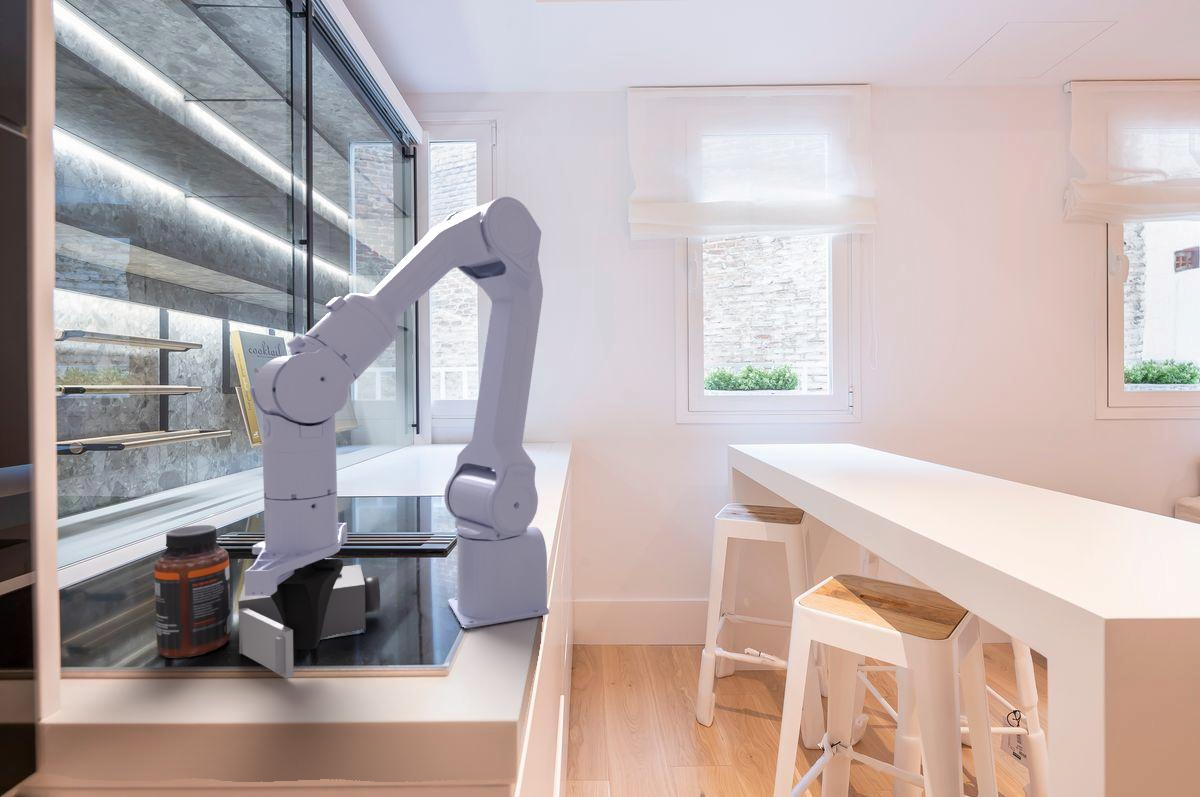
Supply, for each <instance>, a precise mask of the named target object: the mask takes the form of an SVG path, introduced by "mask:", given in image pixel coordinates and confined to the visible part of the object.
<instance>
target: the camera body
mask: <svg viewBox="0 0 1200 797" xmlns="http://www.w3.org/2000/svg"><path fill="white" fill-rule="evenodd" d="M380 587H381V586H380V581H379V576H369V577H364V575H363V570H362V565H361V564H354V565H345V566H344V565H343V568H342V571H341V572H340V574H339V576H338V578H337V580H336V582H335V585H334V587H333V590H332V592H331V595H330V598H329V602H328V605H327V610H326V614H325V618H324V623H323V628H322V633H321V637H320V639H321V638H324V637H328V636H332V635H336V634H341V633H346V632H352V631H357V630H361V629H365V630H366V614H368V613H375V612H380V610H381V588H380ZM237 603H238V606H237V607H238V610H239V609H241V608H249V609H250V610H252V611H254V612H256V613H258V614H261V615H263V616H265V617H267V618H269V619H271V620H273V621H275V622H278V623H280V624H282V625H284V624H283V621H282V618H281V615H280V613H279V611H278V609H277V607H276V605H275V603H274V601H273V600H272V598H271V597H270V596H264V595H262V596H246V595H245V581H244V582H243V585H242V589H241V592H240V595H239V598H238V602H237ZM238 640H239V639H238ZM238 645H239V646H238V647H239V651H238V653H239V655H241V654H240V640H239V641H238Z"/></svg>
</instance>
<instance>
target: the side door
mask: <svg viewBox="0 0 1200 797" xmlns="http://www.w3.org/2000/svg"><path fill="white" fill-rule="evenodd" d="M238 640H240V654H239V655H243V656H245V657H248V658H249V659H251V660H252V661H255V662H256V663H258V664H260V665H262V666H263V667H265V668H267V669H269V670H270V671H272V672H274V673H276V674H277V675H280V677H281V676H282V677H283V678H285V679H288V678H292V677H294V649H293V630H292V629H290V628H288V627H286V626H284V625H282V624H280V623H278V622H275V621H273V620H271V619H269V618H267V617H265V616H263V615H261V614H258V613H256V612H254V611H252V610H250V609H249V608H241V609H239V608H238Z"/></svg>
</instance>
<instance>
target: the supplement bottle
mask: <svg viewBox="0 0 1200 797" xmlns="http://www.w3.org/2000/svg"><path fill="white" fill-rule="evenodd" d="M217 535H218V534H217V527H216V526H214V525H211V524H209V525H207V524H205V525H204V524H201V525H200V524H199V525H192V526H191V525H190V526H183V527H179V528H175V529H172V530H169V531H167V533H166V535H165V537H166V538H165V540H166V541H165V547H166V550H165V551H164V553H162V555H160V556H159V557H158V558H157V559H156V560H155V562H154V598H155V601H154V602H155V605H154V606H155V628H156V645H157V647H156V648H157V652H158V654H159V655H160V656H162V657H165V658H169V659H182V658H185V659H186V657H187V658H193V656H194V657H199V656H201V655H204V654H207V652H208V653H210V652H213V651H215V650H217V649H218V648H221V647H223V646H224V645H225V644H227V642H228V641H229V640H230V638H231V635H232V634H231V633H232V631H231V630H232V622H231V621H232V620H231V618H232V617H231V614H232V613H231V612H232V611H231V593H230V592H231V588H230V585H231V581H230V557H229V552H228V551H227V549H225V548H224V547H221V546H220V545H219V544H218V542H217V540H218V536H217ZM198 655H199V656H198Z"/></svg>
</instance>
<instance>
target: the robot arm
mask: <svg viewBox="0 0 1200 797" xmlns="http://www.w3.org/2000/svg"><path fill="white" fill-rule="evenodd" d="M541 237H542V230H541V228H540V227H539V225H538V224H537V222H536V221H535V219H534V217H533V216H532V214H531V212H530V211H529V210H528V207H526V206H525V204H524V203H522V202H521V201H520V200H518V199H517V198H514V197H511V196H501V197H498V198H496V199H494V200H492V201H490V202H488V203H485V204H483V205H479V206H476V207H472V208H470V209H466V210H462V211H455V212H453V213H451V214H449V215H448V216H447V217H446V218H445V219H444V220H443V222H441V223H438V224H437V225H435V226H433V227H432V228H431V229H430V230H429V231H428V232H427V233H426V234H425V235H424V236H423V238H422V239H420V240H419V242H418V243H416V245H415V246H413V248H412V249H411V250H410V251H409V252H408V253H407V254H406V255H405V256H404V258H402V259H401V260H400V262H398V264H397V265H396V266H394V268H393V269H392V270H391V271H390V272H389V273H388V274H387V275H386V276H385V277H384V278H383V280H381V281H380V282H379V284H378V285H377V286H376V287H375V288H374V289H373V290H372V291H371V292H370V293H369V294H365V293H357V292H354V293H352V292H351V293H349V294H347V295H346V296H345V297H344V298H343V296H338V297H337V296H336V297H333V298H332V299H331V300H330V301H329V302H328V303H326V304H325V306H324V308H326V310H327V311H329V312H327V314H326V315H324V317H322V318H321V319H320V320H319V321H318V322H317V323H316V324H314V326H312V327H311V328H310V329H309V330H308V331H307V332H306V333H305V334H304V335H303V336H302V337H301V336H293V337H292V338H291V339H290V340H289V341H288V342H287V343H286V346H287V347H288V348H289V349H290V351H289V352H290V355H283V356H278V357H275V358H273V359H271V360H269V361H268V362H266V363H265V364H264V365H263V366H262V367H260V369H259V370H258V373H256V374H257V375H256V377H255V378H256V381H254V383H253V384H254V386H251V387H250V389H249V392H250V396H251V400H252V402H253V405H255V407H256V408H257V410H259V412H260V413H261V414H262V425H263V426H262V430H263V433H262V436H263V441H262V468H263V470H262V474H263V476H262V479H263V480H262V481H263V510H264V512H263V514H264V516H263V517H264V540H263V541H260V542H258V543H255V544H253V545H252V546H251V554H252V555H256V556H257V555H258V556H257V558H256V559H255V561H254V562H253V564H252V565H251V566H250V567H249V568H247V569H246V570H244V582H245V595H246V596H262V595H264V596H270V597H271V598H272V600H273V601H274V603H275V605H276V607H277V609H278V611H279V613H280V615H281V618H282V621H283V624H284V626H286V627H288V628H290V629H292V630H293V650H315V649H316V648H317V647H318V646H319V643H320V637H321V633H322V628H323V623H324V618H325V614H326V610H327V605H328V602H329V598H330V595H331V592H332V590H333V587H334V585H335V582H336V580H337V578H338V576H339V574H340V572H341V571H342V568H343V566H344V564H343V563H344V560H342V559H340V558H328V557H331V556H334V555H335V554H337V553H338V552H340V550H341V546H343V545H345V544H346V543H348V524H347V522H339V518H338V517H339V516H338V513H339V512H338V486H337V485H338V478H337V439H336V414H337V413H338V412H340V411H342V410H344V407H345V405H346V404H347V400H348V397H349V387H350V386H351V385H353V383H355V381H356V380H358V378H359V377H360V376H361V375H363V373H364V372H365V371H366V370H367V369H368V368H369V367H370V366H371V365H372V364H373V363H374V362H375V361H376V360H377V359H378V358H379V357H380V356H381V355H382V354H383V352H384V351H386V350H387V349H388V348H389V347H390V346H391V344H392V343H394V341H395V340H396V339H397V337H398V319H399V317H400V316H401V315H403V314H404V313H405V312H406V311H407V310H409V308H410V307H411V306H413V305H414V304H415V303H416V302H417V301H418V300H419V299H420V298H421V297H422V296H424V295H425V294H426V293H427V292H428V291H429V290H430V289H431V288H433V286H435V285H436V284H438V282H439V281H440V280H442V278H444V277H445V276H446V275H447V274H448V273H449V272H450V271H451V270H453V269H455V268H456V269H458V270H459V271H460V272H462V273H463V274H464V275H465V276H466V277H468V278H469V279H470V280H471V281H472V282H474V283H475V284H477V286H478V287H480V288H481V289H482V290H483V291H484V293H486V295H487V297H488V298H489V299H490V301H491V307H490V308H491V309H490V315H489V321H488V322H489V323H488V327H487V328H488V329H487V334H486V335H487V336H486V342H485V349H484V350H485V351H484V356H483V361H482V362H483V363H482V370H481V375H480V376H481V378H480V383H479V389H478V390H479V391H478V397H477V405H476V410H475V418H474V424H473V432H472V437H471V438H472V439H471V440H470V441H469V443H468V444H467V445H466V446H465V447H464V448H463V449H462V450H461V451H460V452H459V453H458V455H457V457H456V458H457V459H456V465H455V467H454V470H453V472H452V475H450V477H449V478H448V480H447V484H446V485H445V487H444V488H445V489H444V493H443V494H444V496H443V498H444V504H445V507H446V509H447V511H448V513H449V515H451V516H452V517H453V518H455V519H454V521H455V522H454V523H455V526H454V527H455V528H456V532H457V533H456V571H457V572H456V574H457V575H456V581H457V582H456V583H457V584H456V589H457V590H456V591H457V592H456V595H457V596H456V597H453V598H449V599H448V600H447V604H448V603H449V605H450V606H451V608H452V609H453V611H454V613H455V615H456V616H457V618H458V620H459V621H460V623H461V624H462V625H464V626H466V629H473V628H477V627H482V626H489V625H494V624H501V623H505V622H512V621H513V622H514V621H518V620H519V621H520V620H524V619H530V618H536V617H541V616H547V615H549V614H550V609H549V608H548V607H547V606H548V605H547V604H548V591H547V590H548V555H547V554H548V552H547V546H546V542H545V541H546V540H545V537H544V535H543V533H542V531H541V529H540V528H539V527H537V526H530V525H531V523H532V522H533V520H534V519H535V516H536V514H537V510H538V504H539V497H538V492H537V488H536V481H535V478H536V470H537V469H536V468H537V467H536V465H535V463H534V462H533V460H532V458H531V457H530V456H529V454H528V453H527V452H526V450H525V449H524V447H523V440H524V432H525V427H526V426H525V425H526V419H527V413H528V405H529V396H530V390H531V383H532V377H533V376H532V375H533V368H534V361H535V353H536V346H537V339H538V333H539V325H540V319H541V318H540V317H541V313H542V312H541V311H542V303H543V297H544V294H543V293H544V288H543V287H544V286H543V280H542V275H541V270H540V263H539V252H540V246H541V245H540V244H541ZM455 599H456V600H455ZM449 605H448V606H449ZM450 606H449V607H450ZM451 608H450V609H451ZM454 613H453V614H454ZM455 615H454V616H455ZM457 618H456V619H457ZM458 620H457V621H458Z"/></svg>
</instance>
